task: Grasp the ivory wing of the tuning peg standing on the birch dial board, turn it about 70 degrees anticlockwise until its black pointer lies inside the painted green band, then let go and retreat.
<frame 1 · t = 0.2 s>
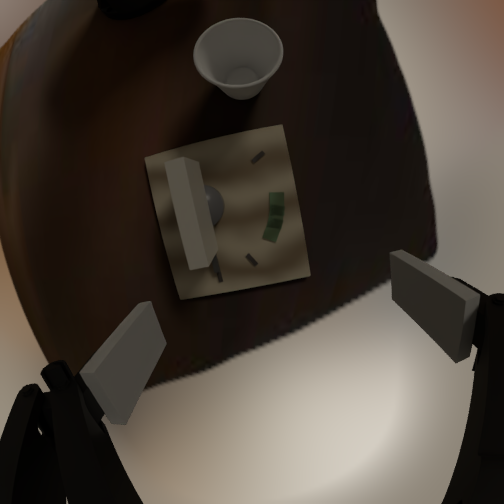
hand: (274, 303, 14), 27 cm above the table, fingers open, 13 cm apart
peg: (198, 223, 34), point 6 cm above the table, hinge at 0.0°
dial board: (227, 214, 40), on the table
cup: (242, 82, 36), on the table
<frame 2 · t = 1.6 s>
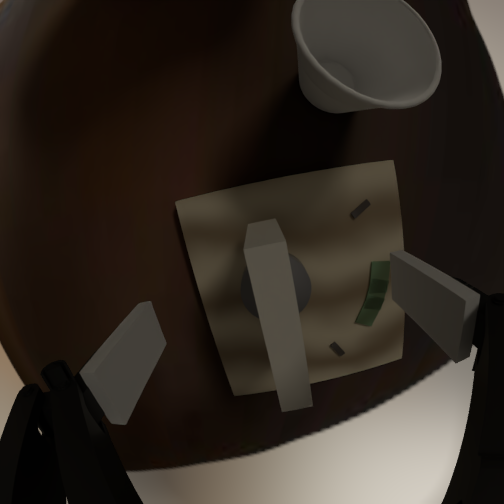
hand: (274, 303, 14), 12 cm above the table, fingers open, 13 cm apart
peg: (282, 325, 21), point 6 cm above the table, hinge at 0.0°
dial board: (308, 290, 27), on the table
cup: (330, 84, 22), on the table
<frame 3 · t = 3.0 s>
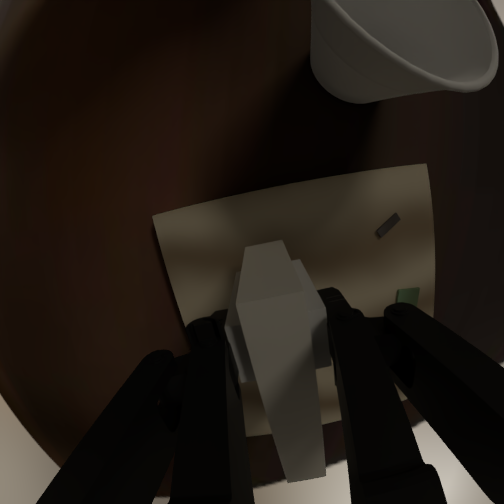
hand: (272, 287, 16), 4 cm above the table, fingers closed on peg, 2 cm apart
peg: (290, 379, 15), point 6 cm above the table, hinge at 0.0°, touching gripper
dial board: (320, 324, 21), on the table
cup: (348, 69, 17), on the table
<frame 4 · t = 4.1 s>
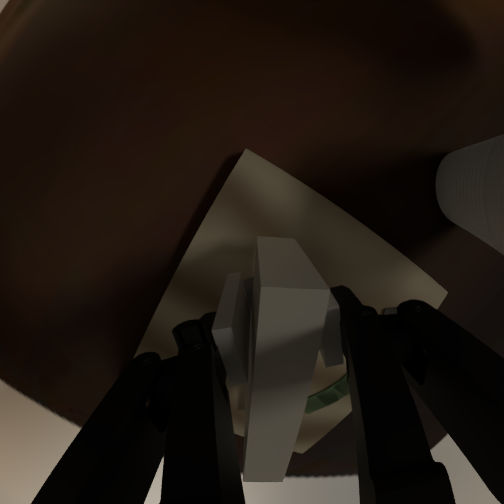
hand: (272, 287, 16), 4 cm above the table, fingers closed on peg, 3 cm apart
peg: (267, 377, 15), point 6 cm above the table, hinge at 27.4°, touching gripper
dial board: (283, 343, 22), on the table
cup: (456, 187, 19), on the table
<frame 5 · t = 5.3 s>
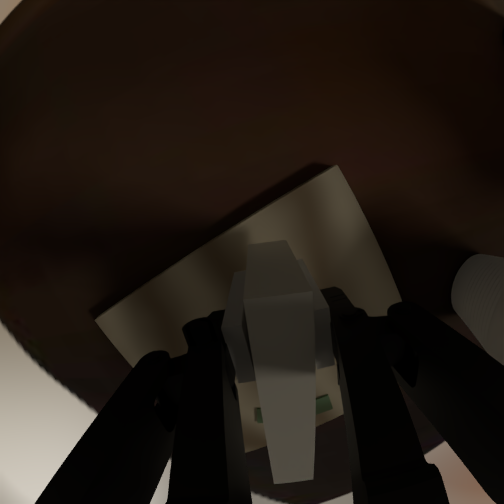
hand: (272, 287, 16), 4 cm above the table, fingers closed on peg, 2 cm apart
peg: (283, 379, 15), point 6 cm above the table, hinge at 65.1°, touching gripper
dial board: (271, 349, 22), on the table
cup: (469, 283, 21), on the table
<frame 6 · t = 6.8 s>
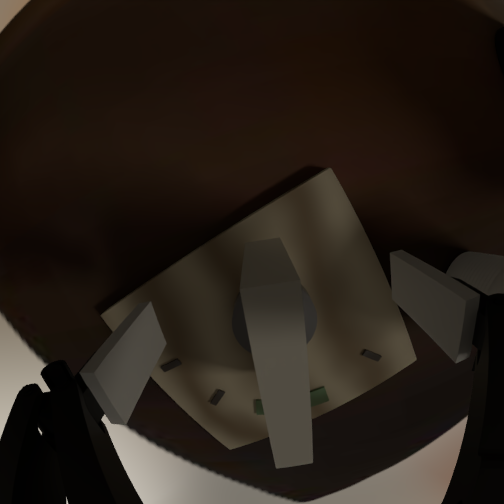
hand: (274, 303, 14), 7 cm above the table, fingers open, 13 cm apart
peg: (281, 368, 17), point 6 cm above the table, hinge at 66.8°
dial board: (269, 343, 23), on the table
cup: (460, 279, 22), on the table
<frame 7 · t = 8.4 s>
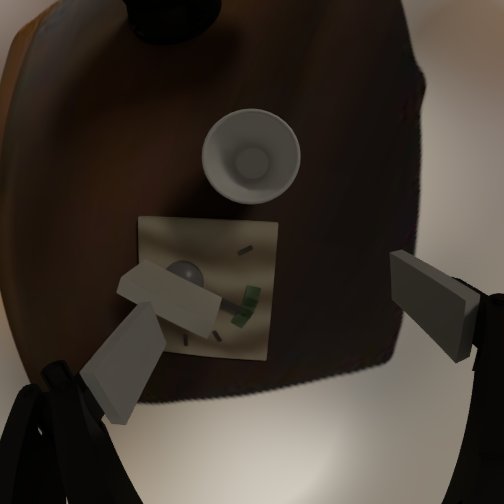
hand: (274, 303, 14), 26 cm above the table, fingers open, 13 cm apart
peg: (186, 298, 36), point 6 cm above the table, hinge at 66.8°
dial board: (205, 291, 42), on the table
cup: (252, 163, 38), on the table
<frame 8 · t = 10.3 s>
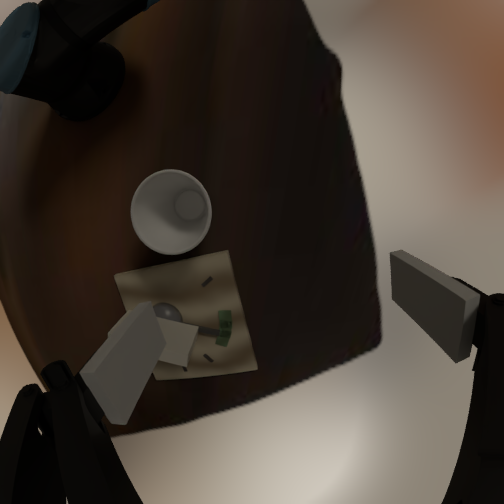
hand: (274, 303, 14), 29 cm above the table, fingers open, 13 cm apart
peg: (167, 335, 40), point 6 cm above the table, hinge at 66.8°
dial board: (187, 323, 46), on the table
cup: (190, 204, 42), on the table
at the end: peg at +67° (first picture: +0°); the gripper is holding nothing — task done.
